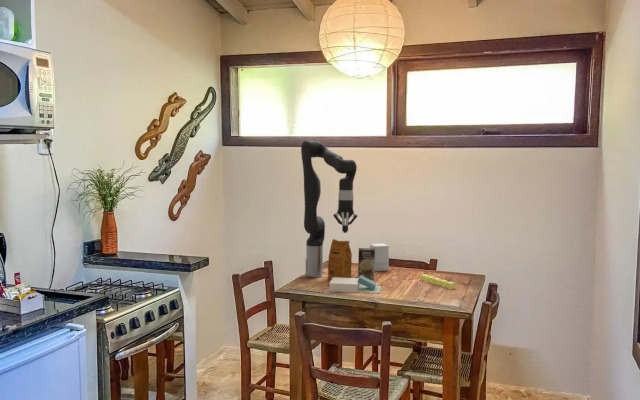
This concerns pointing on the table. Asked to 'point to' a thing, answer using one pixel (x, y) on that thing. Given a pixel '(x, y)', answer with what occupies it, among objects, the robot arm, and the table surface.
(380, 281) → the table surface
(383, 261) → the supplement box
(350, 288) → the white flat block
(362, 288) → the mat
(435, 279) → the yellow piece
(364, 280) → the teal block
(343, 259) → the coffee package
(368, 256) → the coffee box
